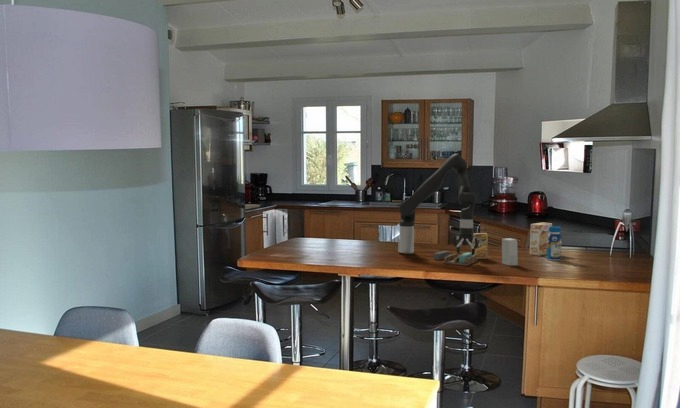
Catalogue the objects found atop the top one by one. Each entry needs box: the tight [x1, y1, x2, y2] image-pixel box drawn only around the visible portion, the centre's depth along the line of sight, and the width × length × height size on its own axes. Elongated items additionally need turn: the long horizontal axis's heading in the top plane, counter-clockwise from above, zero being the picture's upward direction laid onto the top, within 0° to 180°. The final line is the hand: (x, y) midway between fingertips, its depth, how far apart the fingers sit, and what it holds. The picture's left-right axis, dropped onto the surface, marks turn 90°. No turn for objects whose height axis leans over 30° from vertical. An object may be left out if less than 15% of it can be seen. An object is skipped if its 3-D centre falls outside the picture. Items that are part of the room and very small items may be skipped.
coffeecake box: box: [529, 221, 553, 257], centre depth 376 cm, size 15×7×20 cm, turn 131°
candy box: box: [472, 232, 489, 260], centre depth 358 cm, size 9×4×15 cm, turn 107°
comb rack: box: [443, 252, 478, 267], centre depth 346 cm, size 18×14×4 cm
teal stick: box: [458, 251, 472, 263], centre depth 345 cm, size 12×4×4 cm, turn 147°
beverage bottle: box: [546, 225, 563, 262], centre depth 355 cm, size 8×8×20 cm
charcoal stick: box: [433, 250, 451, 261], centre depth 358 cm, size 12×4×4 cm, turn 137°
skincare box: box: [501, 237, 519, 266], centre depth 340 cm, size 8×6×15 cm
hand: (465, 254), depth 345 cm, fingers open, 8 cm apart
